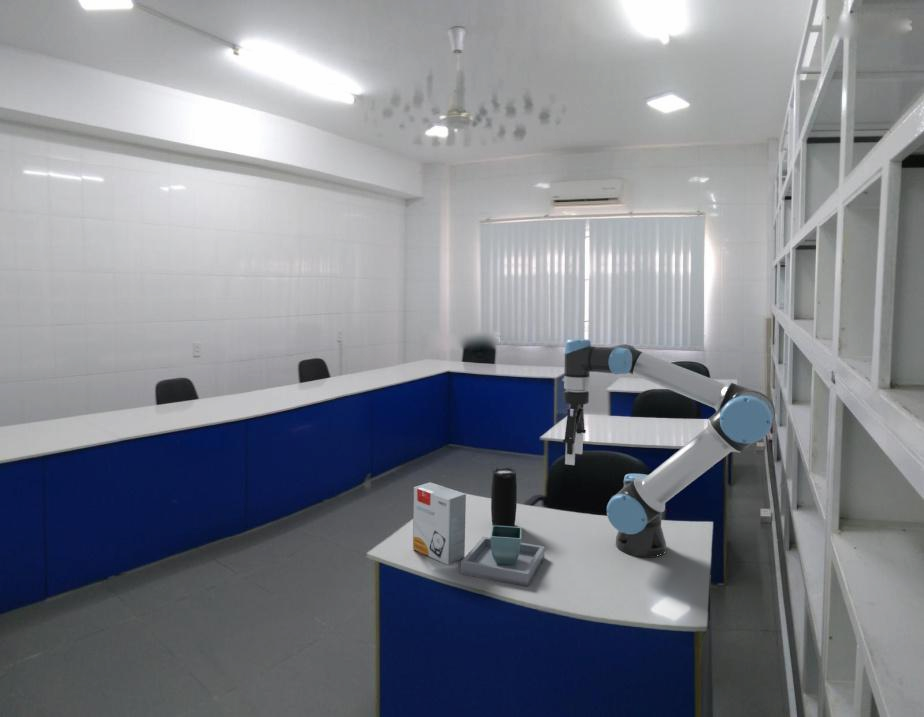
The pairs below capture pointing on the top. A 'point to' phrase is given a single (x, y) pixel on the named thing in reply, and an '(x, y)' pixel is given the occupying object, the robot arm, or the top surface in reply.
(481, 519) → the top surface
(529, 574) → the tray
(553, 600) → the top surface
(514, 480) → the portable speaker
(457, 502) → the hard drive box
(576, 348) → the robot arm
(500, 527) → the flower pot
